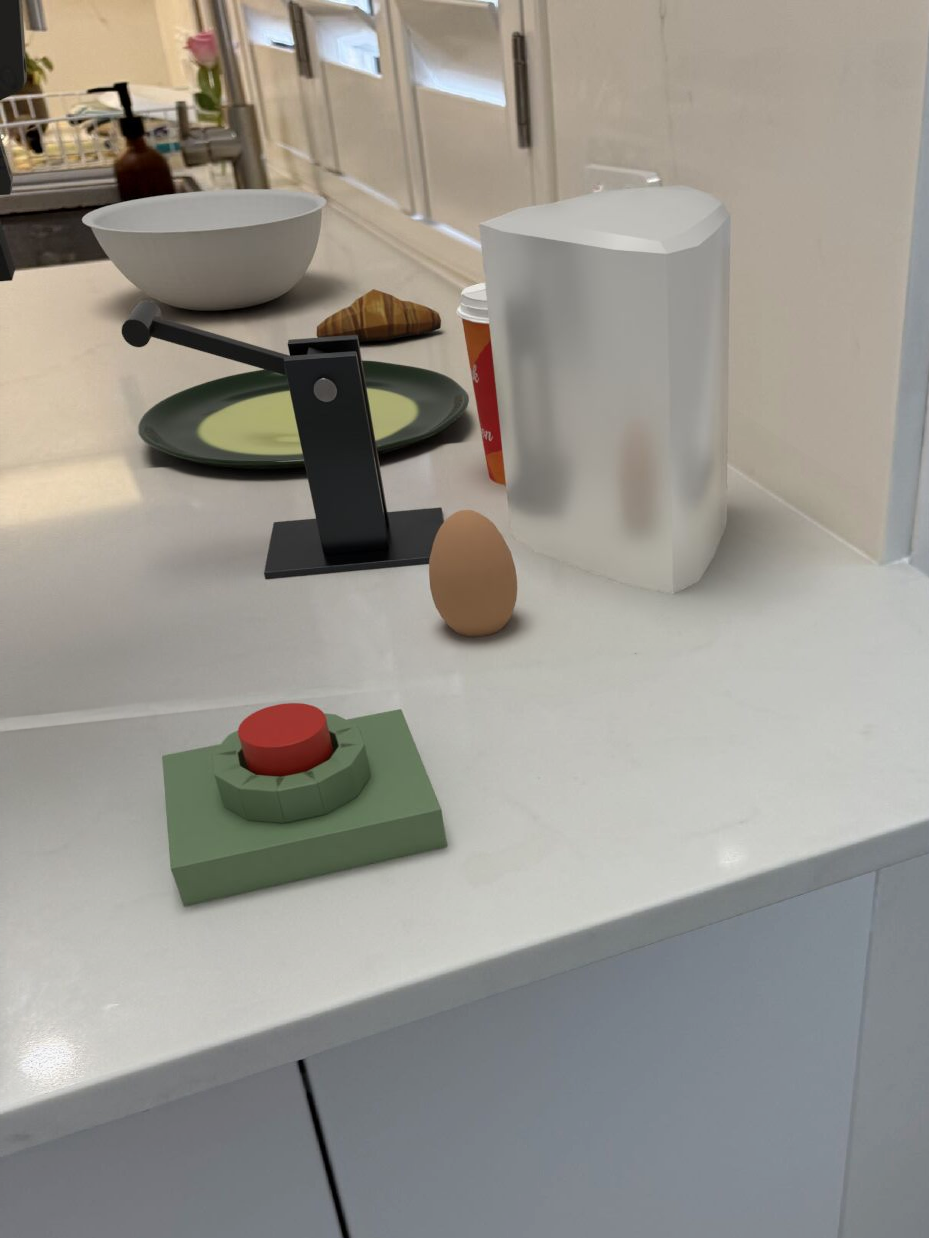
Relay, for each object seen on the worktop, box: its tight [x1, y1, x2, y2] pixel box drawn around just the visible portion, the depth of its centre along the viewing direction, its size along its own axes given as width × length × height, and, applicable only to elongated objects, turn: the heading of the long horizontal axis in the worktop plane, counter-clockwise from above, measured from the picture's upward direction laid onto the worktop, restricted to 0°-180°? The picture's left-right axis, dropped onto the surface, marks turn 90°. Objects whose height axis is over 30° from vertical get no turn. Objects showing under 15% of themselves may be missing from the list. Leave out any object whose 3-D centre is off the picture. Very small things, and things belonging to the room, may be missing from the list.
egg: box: [428, 509, 518, 638], centre depth 72 cm, size 5×5×8 cm
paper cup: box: [456, 282, 506, 486], centre depth 90 cm, size 8×8×14 cm
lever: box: [121, 299, 327, 375], centre depth 75 cm, size 13×5×2 cm, turn 100°
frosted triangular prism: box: [478, 184, 731, 595], centre depth 78 cm, size 15×14×22 cm
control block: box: [161, 708, 448, 907], centre depth 58 cm, size 12×10×4 cm
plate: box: [137, 359, 470, 470], centre depth 105 cm, size 28×28×2 cm
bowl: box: [81, 188, 328, 312], centre depth 142 cm, size 27×27×10 cm
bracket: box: [263, 335, 445, 580], centre depth 80 cm, size 12×9×14 cm
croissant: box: [316, 288, 442, 343], centre depth 129 cm, size 14×7×5 cm, turn 112°
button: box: [237, 702, 333, 777], centre depth 56 cm, size 4×4×2 cm
